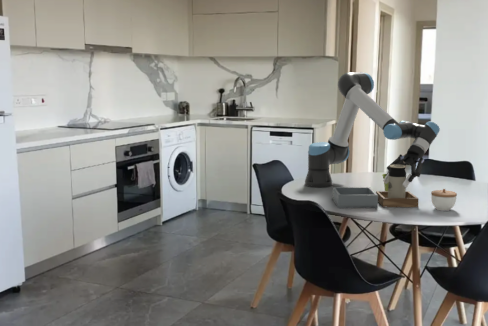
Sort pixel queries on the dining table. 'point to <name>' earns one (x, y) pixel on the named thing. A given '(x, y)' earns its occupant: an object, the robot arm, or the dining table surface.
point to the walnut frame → (397, 200)
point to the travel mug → (396, 181)
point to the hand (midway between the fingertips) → (394, 184)
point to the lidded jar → (443, 199)
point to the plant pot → (384, 183)
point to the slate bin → (355, 197)
